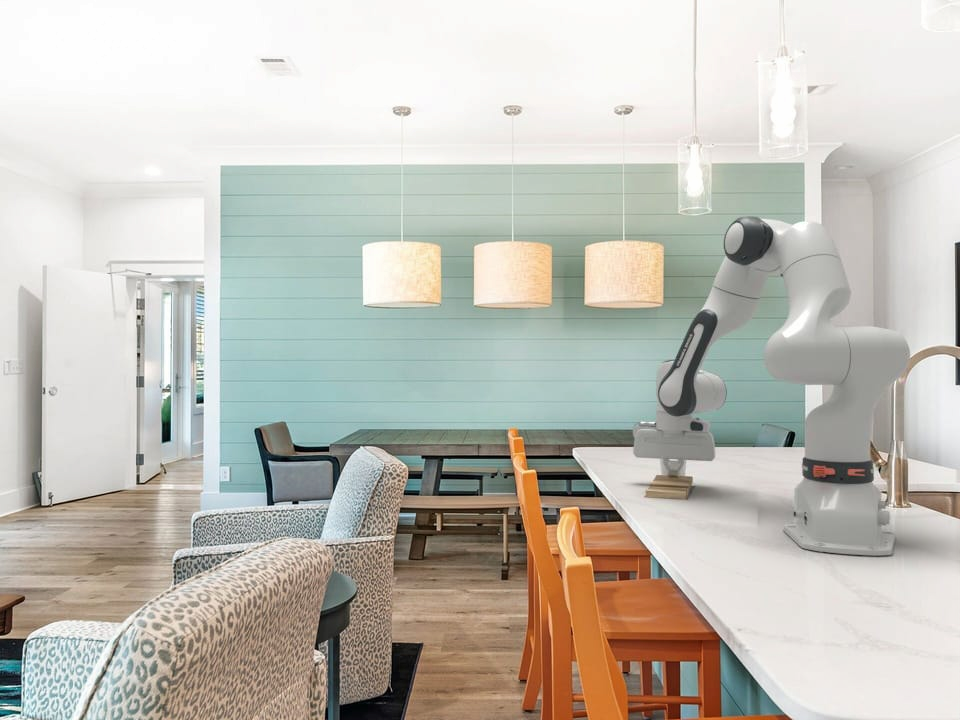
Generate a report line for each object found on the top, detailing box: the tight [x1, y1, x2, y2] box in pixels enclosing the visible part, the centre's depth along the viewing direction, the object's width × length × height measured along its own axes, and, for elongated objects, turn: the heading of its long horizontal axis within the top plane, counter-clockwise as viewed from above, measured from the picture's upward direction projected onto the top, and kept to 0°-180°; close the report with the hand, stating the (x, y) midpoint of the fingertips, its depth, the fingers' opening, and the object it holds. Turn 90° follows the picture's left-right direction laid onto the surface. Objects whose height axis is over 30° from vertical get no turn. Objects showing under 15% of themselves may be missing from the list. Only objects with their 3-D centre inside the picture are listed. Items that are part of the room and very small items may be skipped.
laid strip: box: [645, 484, 688, 501], centre depth 172 cm, size 7×9×2 cm
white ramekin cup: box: [659, 459, 687, 476], centre depth 193 cm, size 7×7×7 cm
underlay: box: [643, 485, 696, 501], centre depth 178 cm, size 20×10×1 cm, turn 159°
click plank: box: [649, 474, 694, 494], centre depth 181 cm, size 12×9×2 cm
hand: (673, 476), depth 185 cm, fingers closed, pressing on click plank
